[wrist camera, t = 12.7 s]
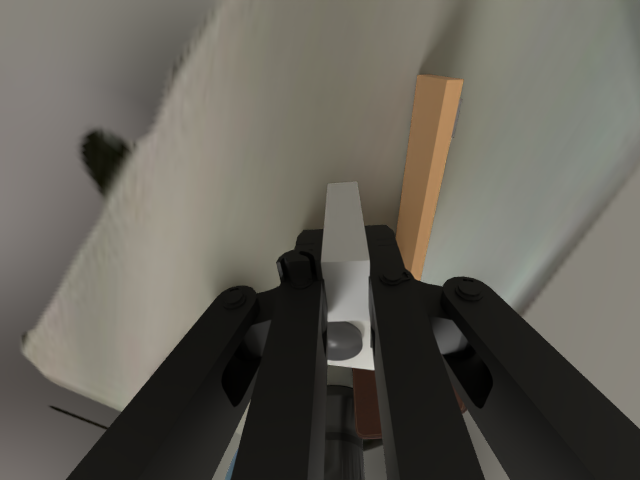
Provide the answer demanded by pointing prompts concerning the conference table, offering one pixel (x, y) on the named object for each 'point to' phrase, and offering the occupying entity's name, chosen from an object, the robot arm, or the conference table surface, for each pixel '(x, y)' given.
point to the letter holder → (372, 404)
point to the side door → (426, 164)
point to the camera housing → (350, 344)
